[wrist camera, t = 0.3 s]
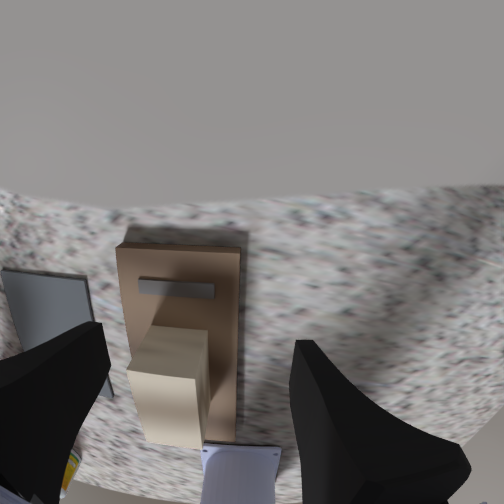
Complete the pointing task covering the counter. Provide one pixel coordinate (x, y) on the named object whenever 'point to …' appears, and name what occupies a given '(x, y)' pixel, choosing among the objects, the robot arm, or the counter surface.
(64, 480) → the supplement bottle
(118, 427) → the counter surface
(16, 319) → the slate mat
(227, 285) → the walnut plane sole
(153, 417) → the cap
